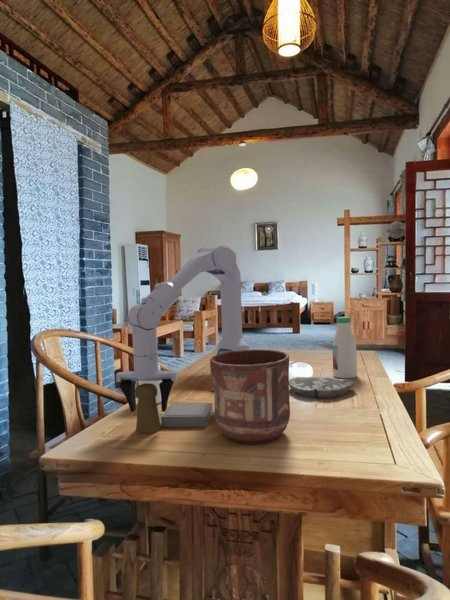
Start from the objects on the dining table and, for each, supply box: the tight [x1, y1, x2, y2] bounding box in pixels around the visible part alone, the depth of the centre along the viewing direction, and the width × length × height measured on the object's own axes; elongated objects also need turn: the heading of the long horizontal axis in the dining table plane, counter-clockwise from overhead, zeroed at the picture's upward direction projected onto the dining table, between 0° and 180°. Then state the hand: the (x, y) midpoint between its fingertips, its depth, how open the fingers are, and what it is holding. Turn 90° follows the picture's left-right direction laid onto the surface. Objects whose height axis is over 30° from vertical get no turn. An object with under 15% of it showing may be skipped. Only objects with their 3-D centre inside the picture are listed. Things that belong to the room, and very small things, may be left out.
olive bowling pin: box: [135, 383, 162, 435], centre depth 109 cm, size 6×6×11 cm
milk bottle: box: [332, 316, 358, 380], centre depth 152 cm, size 8×8×20 cm
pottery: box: [209, 349, 291, 445], centre depth 102 cm, size 18×18×18 cm
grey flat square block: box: [160, 402, 214, 428], centre depth 115 cm, size 11×11×3 cm
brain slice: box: [289, 376, 355, 399], centre depth 135 cm, size 20×17×3 cm
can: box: [137, 360, 162, 405], centre depth 131 cm, size 6×6×12 cm
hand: (148, 410), depth 109 cm, fingers open, 7 cm apart
